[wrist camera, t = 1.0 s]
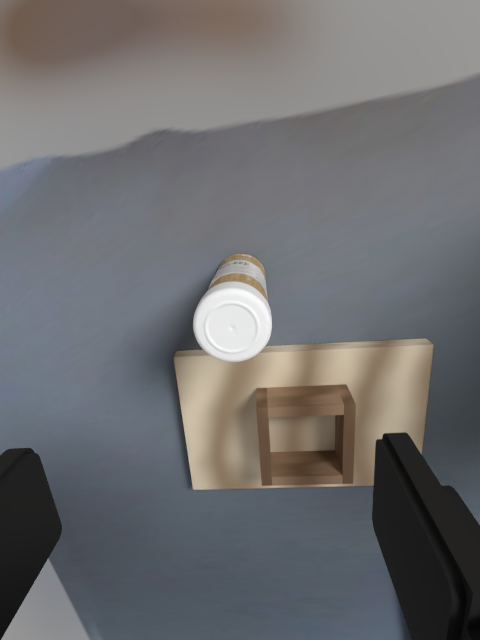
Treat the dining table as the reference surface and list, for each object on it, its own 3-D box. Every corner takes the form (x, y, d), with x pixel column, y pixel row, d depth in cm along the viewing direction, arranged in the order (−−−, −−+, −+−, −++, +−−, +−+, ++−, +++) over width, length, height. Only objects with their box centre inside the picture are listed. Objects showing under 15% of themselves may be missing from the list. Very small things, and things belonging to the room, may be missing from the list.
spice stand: (426, 338, 34) (453, 361, 29) (412, 474, 39) (433, 512, 34) (176, 350, 35) (164, 374, 31) (195, 479, 41) (187, 516, 36)
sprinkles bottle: (215, 297, 34) (188, 360, 21) (219, 249, 32) (193, 284, 19) (263, 303, 33) (266, 369, 21) (270, 255, 32) (277, 294, 19)
